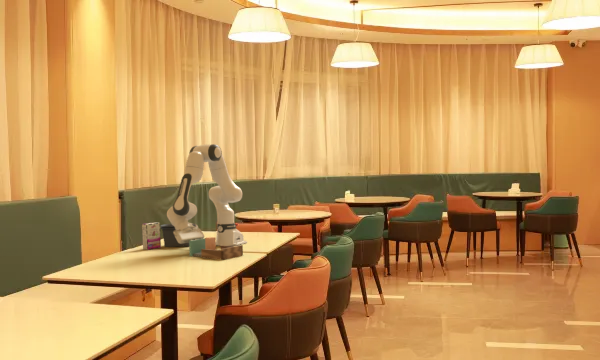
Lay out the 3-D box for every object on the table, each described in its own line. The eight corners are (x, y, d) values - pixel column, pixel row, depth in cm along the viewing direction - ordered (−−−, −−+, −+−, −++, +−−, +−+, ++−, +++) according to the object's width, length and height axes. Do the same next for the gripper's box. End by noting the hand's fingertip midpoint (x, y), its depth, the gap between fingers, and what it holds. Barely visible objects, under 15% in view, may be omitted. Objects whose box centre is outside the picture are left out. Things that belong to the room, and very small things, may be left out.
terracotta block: (210, 252, 385) (210, 237, 385) (215, 252, 383) (215, 237, 383) (205, 253, 381) (205, 237, 381) (210, 253, 379) (210, 238, 379)
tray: (209, 252, 394) (208, 237, 394) (229, 254, 385) (229, 239, 385) (189, 256, 380) (189, 240, 380) (210, 258, 371) (210, 242, 371)
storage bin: (159, 247, 422) (158, 225, 422) (166, 244, 437) (165, 223, 437) (191, 247, 420) (190, 225, 419) (197, 244, 435) (196, 222, 435)
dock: (222, 253, 389) (221, 243, 389) (242, 255, 380) (242, 245, 380) (201, 257, 374) (201, 247, 374) (222, 259, 365) (222, 249, 365)
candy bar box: (156, 247, 423) (155, 222, 423) (161, 247, 420) (160, 222, 420) (142, 249, 414) (141, 223, 414) (147, 250, 411) (146, 224, 411)
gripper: (174, 227, 383) (187, 244, 378) (198, 224, 400) (210, 240, 395) (169, 234, 386) (181, 251, 381) (193, 230, 403) (205, 247, 398)
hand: (196, 246), depth 388 cm, fingers closed
